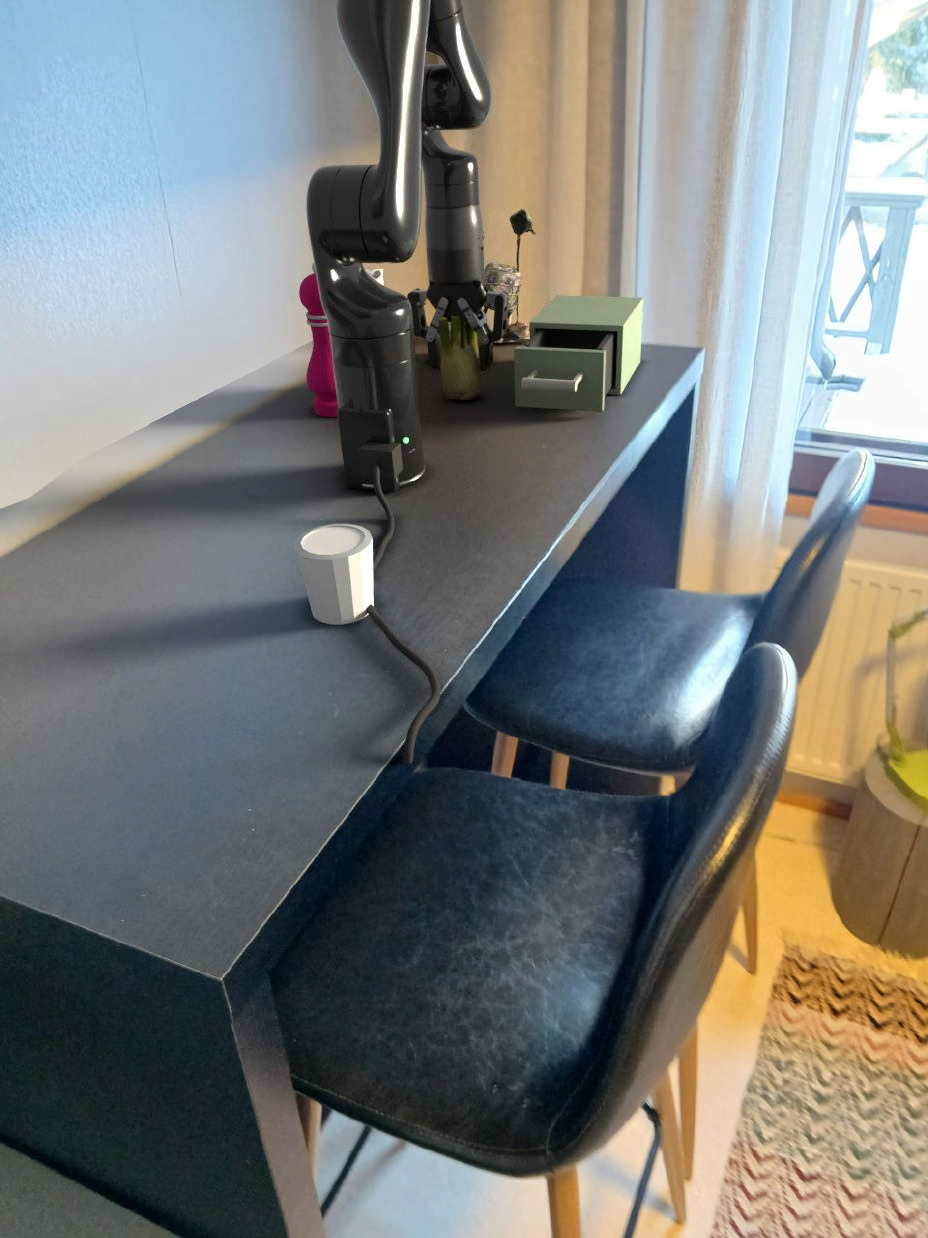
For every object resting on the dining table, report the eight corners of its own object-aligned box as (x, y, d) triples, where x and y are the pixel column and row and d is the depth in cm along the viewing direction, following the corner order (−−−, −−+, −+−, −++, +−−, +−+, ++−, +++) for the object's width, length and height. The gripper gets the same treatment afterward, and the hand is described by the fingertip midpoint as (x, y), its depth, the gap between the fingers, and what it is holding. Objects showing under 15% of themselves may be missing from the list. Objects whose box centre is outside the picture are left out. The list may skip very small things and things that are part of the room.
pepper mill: (359, 417, 128) (342, 264, 117) (307, 419, 128) (285, 267, 118) (365, 400, 134) (349, 253, 123) (315, 402, 134) (295, 255, 124)
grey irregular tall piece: (486, 330, 162) (481, 206, 152) (548, 334, 158) (548, 206, 148) (469, 343, 156) (463, 214, 145) (533, 347, 152) (532, 215, 141)
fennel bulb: (442, 405, 131) (437, 317, 124) (442, 393, 135) (436, 308, 128) (484, 402, 131) (480, 315, 124) (482, 391, 135) (478, 306, 128)
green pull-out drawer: (593, 426, 118) (595, 365, 114) (503, 420, 122) (501, 360, 117) (623, 377, 134) (625, 322, 130) (542, 373, 137) (542, 319, 133)
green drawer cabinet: (620, 395, 130) (623, 325, 125) (530, 389, 134) (529, 322, 129) (640, 362, 143) (643, 297, 138) (556, 357, 147) (556, 294, 141)
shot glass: (343, 582, 89) (334, 515, 85) (395, 603, 85) (388, 534, 82) (289, 613, 85) (277, 544, 81) (342, 636, 81) (331, 566, 77)
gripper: (392, 246, 121) (403, 373, 130) (499, 248, 116) (502, 379, 125) (414, 235, 127) (423, 357, 136) (515, 236, 122) (518, 362, 131)
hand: (461, 367), depth 130 cm, fingers open, 6 cm apart
